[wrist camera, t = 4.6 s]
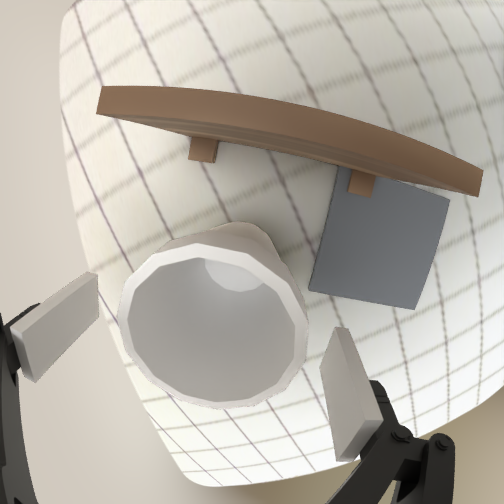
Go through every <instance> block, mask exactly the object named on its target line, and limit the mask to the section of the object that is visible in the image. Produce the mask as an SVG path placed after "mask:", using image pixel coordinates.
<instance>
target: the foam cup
mask: <svg viewBox="0 0 504 504" xmlns="http://www.w3.org/2000/svg"><path fill="white" fill-rule="evenodd" d="M117 320H118V324H119V328H120V332H121V336H122V339H123V343H124V347H125V350H126V352H127V353H128V355H129V356H130V357H131V359H132V360H133V361H134V363H135V364H136V365H137V367H138V368H139V369H140V370H141V372H142V373H143V374H144V375H145V377H146V378H147V379H148V380H149V381H150V382H152V383H153V384H155V385H156V386H158V387H159V388H161V389H163V390H164V391H166V392H167V393H169V394H170V395H172V396H174V397H175V398H177V399H179V400H180V401H184V402H188V403H192V404H196V405H200V406H204V407H208V408H212V409H230V408H240V407H249V406H255V405H257V404H259V403H261V402H263V401H265V400H267V399H268V398H270V397H272V396H274V395H276V394H278V393H280V392H282V391H283V390H285V389H286V388H287V387H288V385H289V384H290V382H291V381H292V380H293V378H294V377H295V375H296V374H297V373H298V371H299V370H300V368H301V367H302V365H303V364H304V363H305V361H306V352H307V338H308V318H307V312H306V307H305V301H304V299H303V296H302V294H301V292H300V290H299V288H298V286H297V284H296V283H295V281H294V279H293V277H292V275H291V273H290V271H289V269H288V267H287V265H286V264H285V263H283V262H282V261H281V259H280V257H279V255H278V253H277V251H276V249H275V247H274V245H273V243H272V241H271V239H270V237H269V235H268V234H267V233H265V232H264V231H263V230H261V229H260V228H259V227H257V226H256V225H255V224H251V223H246V222H241V221H235V222H231V223H227V224H223V225H220V226H217V227H214V228H212V229H209V230H207V231H204V232H201V233H197V234H193V235H189V236H185V237H182V238H178V239H174V240H170V241H169V242H168V243H166V244H165V245H164V246H162V247H161V248H160V249H159V250H157V251H156V252H155V253H153V254H152V255H151V256H150V257H149V258H148V259H147V260H146V261H145V262H144V263H143V264H142V265H141V266H140V267H139V268H138V269H137V270H136V271H135V272H134V273H133V274H132V275H131V276H130V277H129V278H128V279H127V280H126V281H125V283H124V287H123V291H122V295H121V299H120V304H119V308H118V312H117Z"/></svg>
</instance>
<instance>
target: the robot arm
mask: <svg viewBox="0 0 504 504" xmlns="http://www.w3.org/2000/svg"><path fill="white" fill-rule="evenodd" d="M98 317H99V304H98V275H97V274H93V273H90V272H86V273H84V274H83V275H81V276H80V277H78V278H77V279H75V280H74V281H72V282H71V283H70V284H68V285H67V286H65V287H64V288H62V289H61V290H60V291H58V292H57V293H55V294H54V295H52V296H51V297H49V298H48V299H47V300H45V301H44V302H43V303H38V304H35V305H32V306H30V307H29V308H27V309H26V310H25V311H24V312H22V313H20V314H19V315H18V316H16V317H15V318H14V319H12V320H11V321H10V322H8V323H7V324H6V325H3V321H2V317H1V313H0V504H38V502H37V499H36V496H35V493H34V489H33V485H32V481H31V477H30V473H29V467H28V462H27V457H26V452H25V445H24V439H23V431H22V424H21V415H20V402H19V384H18V374H17V370H18V369H19V368H20V367H21V369H22V372H23V375H24V377H26V378H27V379H29V380H31V381H33V382H34V383H36V382H37V381H38V380H39V379H40V378H41V376H42V375H43V374H44V373H45V372H46V371H47V370H48V369H49V368H50V367H51V366H52V364H54V362H55V361H56V360H57V359H58V358H59V357H60V356H61V355H62V354H63V353H64V352H65V351H66V350H67V349H68V348H69V347H70V346H71V345H72V344H73V342H75V341H76V339H78V337H80V335H81V334H82V333H83V332H84V331H85V330H86V329H87V328H88V327H89V326H90V325H91V324H92V323H93V322H94V321H95V320H96V319H97V318H98ZM320 372H321V377H322V382H323V388H324V393H325V398H326V404H327V409H328V415H329V420H330V426H331V432H332V437H333V443H334V449H335V456H336V462H349V461H354V460H355V459H356V457H357V456H358V455H359V454H360V458H361V462H360V463H359V464H358V466H357V467H356V468H355V469H354V470H353V471H352V473H351V474H350V476H349V477H348V478H347V479H346V481H345V482H344V483H343V484H342V485H341V486H340V488H339V489H338V490H337V491H336V492H335V494H334V495H333V496H332V497H331V498H330V499H329V500H328V501H327V502H326V503H325V504H378V502H379V501H380V499H381V498H382V496H383V494H384V493H385V491H386V490H387V488H388V486H389V485H390V483H391V482H392V480H396V481H397V482H396V486H395V490H394V494H393V497H392V501H391V504H452V500H453V489H454V472H455V445H454V442H453V440H452V439H451V438H450V437H449V436H447V435H445V434H442V433H437V434H434V435H433V436H431V438H430V439H429V440H424V439H419V438H415V437H413V434H412V433H411V431H410V430H409V429H408V428H406V427H405V426H402V425H400V424H399V423H398V420H397V418H396V415H395V413H394V410H393V408H392V405H391V404H390V400H389V398H388V397H387V393H386V391H385V389H384V387H383V386H382V385H381V384H380V383H379V382H378V381H375V380H369V379H368V377H367V374H366V372H365V369H364V367H363V364H362V361H361V359H360V356H359V354H358V351H357V349H356V346H355V344H354V342H353V339H352V337H351V334H350V332H349V329H346V328H340V327H335V328H334V331H333V333H332V336H331V339H330V341H329V344H328V347H327V349H326V352H325V354H324V357H323V360H322V362H321V365H320Z"/></svg>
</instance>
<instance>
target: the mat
mask: <svg viewBox="0 0 504 504" xmlns="http://www.w3.org/2000/svg"><path fill="white" fill-rule="evenodd" d="M351 172H352V169H350V168H347V167H343V166H339V168H338V172H337V177H336V181H335V186H334V190H333V195H332V199H331V203H330V207H329V211H328V216H327V220H326V224H325V228H324V232H323V236H322V240H321V243H320V247H319V251H318V255H317V259H316V262H315V266H314V270H313V273H312V277H311V280H310V284H309V287H308V289H309V291H313V292H318V293H324V294H329V295H334V296H339V297H345V298H350V299H355V300H361V301H366V302H372V303H377V304H383V305H388V306H394V307H400V308H406V309H412V310H415V307H416V305H417V303H418V300H419V297H420V295H421V292H422V290H423V287H424V284H425V282H426V279H427V276H428V273H429V270H430V268H431V265H432V262H433V259H434V256H435V252H436V249H437V246H438V243H439V239H440V236H441V233H442V229H443V225H444V222H445V218H446V214H447V210H448V206H449V202H450V200H449V199H446V198H444V197H441V196H438V195H436V194H433V193H430V192H427V191H425V190H422V189H419V188H416V187H413V186H410V185H407V184H404V183H401V182H398V181H395V180H392V179H389V178H383V177H378V176H376V178H375V182H374V187H373V191H372V195H371V198H368V197H365V196H361V195H358V194H354V193H350V192H347V189H348V185H349V181H350V176H351Z"/></svg>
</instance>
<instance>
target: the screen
mask: <svg viewBox="0 0 504 504" xmlns="http://www.w3.org/2000/svg"><path fill="white" fill-rule="evenodd" d="M96 114H99V115H104V116H108V117H113V118H118V119H122V120H127V121H131V122H135V123H140V124H144V125H148V126H152V127H156V128H160V129H164V130H167V131H171V132H175V133H179V134H182V135H186V136H189V137H192V140H191V145H190V151H189V156H188V159H189V160H196V161H202V162H209V163H214V162H215V157H216V152H217V146H218V141H224V142H230V143H236V144H242V145H247V146H253V147H258V148H263V149H268V150H273V151H278V152H283V153H288V154H292V155H297V156H301V157H306V158H310V159H314V160H318V161H322V162H326V163H330V164H334V165H338V166H343V167H347V168H350V169H352V172H351V176H350V181H349V185H348V189H347V192H350V193H354V194H358V195H361V196H365V197H368V198H371V195H372V191H373V187H374V182H375V178H376V176H378V177H383V178H389V179H395V180H400V181H406V182H411V183H416V184H421V185H426V186H431V187H436V188H440V189H445V190H449V191H454V192H458V193H462V194H467V195H471V196H475V197H478V196H479V191H480V186H481V181H482V176H483V170H482V169H480V168H478V167H476V166H474V165H472V164H470V163H468V162H465V161H463V160H461V159H459V158H457V157H455V156H453V155H450V154H448V153H446V152H444V151H441V150H439V149H437V148H434V147H432V146H430V145H427V144H425V143H422V142H420V141H417V140H415V139H412V138H409V137H407V136H404V135H401V134H398V133H396V132H393V131H390V130H387V129H384V128H381V127H378V126H375V125H372V124H369V123H366V122H363V121H359V120H356V119H353V118H349V117H346V116H342V115H338V114H335V113H331V112H327V111H323V110H319V109H315V108H311V107H307V106H302V105H298V104H293V103H288V102H283V101H278V100H273V99H268V98H262V97H256V96H250V95H243V94H236V93H229V92H221V91H212V90H203V89H192V88H178V87H160V86H102V88H101V93H100V97H99V102H98V107H97V112H96Z"/></svg>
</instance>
